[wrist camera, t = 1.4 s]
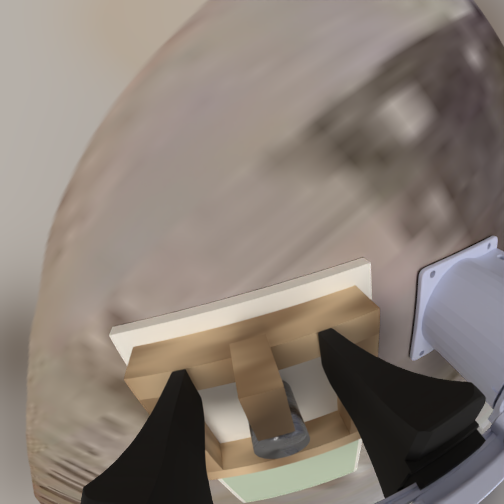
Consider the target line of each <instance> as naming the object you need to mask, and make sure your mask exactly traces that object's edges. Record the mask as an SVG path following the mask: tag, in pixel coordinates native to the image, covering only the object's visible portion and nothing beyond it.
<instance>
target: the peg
mask: <svg viewBox="0 0 504 504" xmlns="http://www.w3.org/2000/svg"><path fill="white" fill-rule="evenodd" d="M282 382H283V385H284V388H285V392H286V396H287V400H288V404H289V408H290V412H291V416H292V420H293V424H294V427H295V431H294V432H290V433H287V434H284V435H280V436H276V437H273V438H269V439H265V440H261V441H258V440H257V437H256V435H255V433H254V431H253V429H252V427H251V425H250V423H249V421H248V425H249V430H250V435H251V440H252V444H253V449H254V453H255V454H256V455H257V456H258V457H261V458H265V459H278V458H284V457H288V456H291V455H293V454H295V453H297V452H299V451H301V450H302V449H304V448H305V447H306V446H307V445H308V444H309V442H310V436H309V434H308V431H307V428H306V426H305V423H304V421H303V418H302V415H301V413H300V410H299V408H298V405H297V402H296V400H295V397H294V395H293V392H292V389H291V387H290V385H289V384H288V383H287V382H286V381H284V380H282ZM247 420H248V419H247Z"/></svg>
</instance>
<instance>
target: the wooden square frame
mask: <svg viewBox="0 0 504 504" xmlns="http://www.w3.org/2000/svg"><path fill="white" fill-rule="evenodd" d="M379 326H380V308H379V307H378V306H377V305H376V304H375V303H374V302H373V301H372V300H371V299H369V298H368V297H367V296H366V295H365V294H364V293H363V292H362V291H361V290H360V289H359V288H358V287H357V286H356V285H355V286H352V287H349V288H346V289H343V290H340V291H337V292H334V293H331V294H328V295H325V296H322V297H319V298H316V299H313V300H310V301H307V302H304V303H301V304H298V305H294V306H291V307H288V308H285V309H281V310H278V311H275V312H271V313H268V314H264V315H261V316H257V317H254V318H250V319H247V320H243V321H240V322H236V323H232V324H229V325H225V326H221V327H217V328H213V329H209V330H205V331H201V332H197V333H193V334H189V335H185V336H181V337H176V338H172V339H168V340H163V341H159V342H154V343H149V344H145V345H140V346H135V347H133V349H132V352H131V356H130V359H129V362H128V366H127V369H126V373H125V377H124V381H125V382H126V383H127V385H128V386H129V388H130V389H131V390H132V392H133V393H134V395H135V396H136V397H137V399H138V400H139V401H140V403H141V404H142V405H143V407H144V408H145V409H146V411H147V412H148V413H149V414H151V413H152V411H153V409H154V407H155V405H156V403H157V401H158V399H159V397H160V395H161V393H162V391H163V389H164V387H165V385H166V383H167V381H168V379H169V377H170V375H171V373H172V372H173V371H178V370H183V369H186V371H187V373H188V375H189V377H190V378H191V380H192V382H193V384H194V386H195V387H196V389H197V391H198V390H202V389H207V388H212V387H216V386H221V385H225V384H229V383H234V382H235V383H236V389H237V394H238V399H239V402H240V404H241V406H242V408H243V410H244V412H245V415H246V417H247V419H248V421H249V423H250V425H251V427H252V429H253V431H254V433H255V435H256V437H257V440H258V441H261V440H265V439H269V438H273V437H276V436H280V435H284V434H287V433H290V432H294V431H295V427H294V424H293V420H292V416H291V412H290V408H289V404H288V400H287V396H286V392H285V388H284V385H283V382H282V379H281V377H280V374H279V371H278V370H281V369H284V368H288V367H291V366H294V365H297V364H300V363H303V362H306V361H309V360H312V359H315V358H318V357H321V354H320V346H319V338H318V332H321V331H324V330H326V329H329V328H332V329H334V330H336V331H337V332H338V333H340V334H341V335H343V336H344V337H345V338H347V339H348V340H350V341H351V342H353V343H354V344H356V345H357V346H359V347H361V348H362V349H364V350H366V351H367V352H369V353H371V354H373V355H374V356H376V357H378V346H379ZM337 406H338V410H337V411H334V412H332V413H329V414H326V415H324V416H321V417H318V418H315V419H312V420H309V421H306V422H304V423H305V426H306V428H307V431H308V434H309V436H310V442H309V444H308V445H307V446H306V447H305V448H304V449H302V450H301V451H299V452H297V453H295V454H293V455H291V456H288V457H284V458H278V459H265V458H261V457H258V456H257V455H256V454H255V453H254V449H253V444H252V440H251V437H249V438H245V439H240V440H235V441H230V442H225V443H219V441H218V440H217V439H216V437H215V436H214V434H213V433H212V431H211V430H210V428H209V427H208V425H207V424H206V422H205V458H206V469H207V475H208V479H209V480H215V479H222V478H228V477H234V476H240V475H245V474H250V473H255V472H260V471H264V470H269V469H273V468H277V467H280V466H284V465H288V464H291V463H295V462H298V461H302V460H305V459H308V458H311V457H314V456H317V455H320V454H323V453H326V452H328V451H331V450H334V449H337V448H339V447H342V446H344V445H347V444H349V443H352V442H354V441H356V440H359V439H361V437H360V435H359V432H358V430H357V428H356V426H355V424H354V422H353V421H352V419H351V417H350V416H349V414H348V412H347V411H346V409H345V407H344V406H343V404H342V403H341V401H340V399H339V398H338V396H337Z"/></svg>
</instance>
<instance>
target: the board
mask: <svg viewBox="0 0 504 504" xmlns="http://www.w3.org/2000/svg"><path fill="white" fill-rule="evenodd" d="M355 285H356V286H357V287H358V288H359V289H360V290H361V291H362V292H363V293H364V294H365V295H366V296H367V297H368V298H369V299H371V300H372V287H371V263H370V262H369V261H367V260H366V259H365V258H360V259H357V260H353V261H350V262H347V263H344V264H341V265H338V266H335V267H332V268H328V269H325V270H322V271H319V272H316V273H312V274H309V275H306V276H303V277H299V278H296V279H293V280H289V281H286V282H283V283H279V284H276V285H272V286H269V287H265V288H262V289H259V290H255V291H251V292H248V293H244V294H241V295H237V296H234V297H230V298H226V299H223V300H219V301H215V302H212V303H208V304H204V305H200V306H196V307H193V308H189V309H185V310H181V311H177V312H173V313H169V314H165V315H161V316H157V317H153V318H149V319H144V320H140V321H136V322H132V323H127V324H123V325H119V326H114V327H112V330H111V332H110V334H109V336H110V338H111V340H112V342H113V343H114V345H115V347H116V348H117V350H118V352H119V353H120V355H121V357H122V358H123V360H124V362H125V363H126V365H127V366H128V362H129V359H130V356H131V352H132V349H133V347H135V346H140V345H145V344H149V343H154V342H159V341H163V340H168V339H172V338H176V337H181V336H185V335H189V334H193V333H197V332H201V331H205V330H209V329H213V328H217V327H221V326H225V325H229V324H232V323H236V322H240V321H243V320H247V319H250V318H254V317H257V316H261V315H264V314H268V313H271V312H275V311H278V310H281V309H285V308H288V307H291V306H294V305H298V304H301V303H304V302H307V301H310V300H313V299H316V298H319V297H322V296H325V295H328V294H331V293H334V292H337V291H340V290H343V289H346V288H349V287H352V286H355ZM278 371H279V374H280V377H281V379H282V380H284V381H286V382H287V383H288V384H289V385H290V387H291V389H292V392H293V395H294V397H295V400H296V402H297V405H298V408H299V410H300V413H301V415H302V418H303V421H304V422H306V421H309V420H312V419H315V418H318V417H321V416H324V415H326V414H329V413H332V412H334V411H337V410H338V406H337V395H336V393H335V391H334V390H333V388H332V386H331V385H330V383H329V381H328V378H327V376H326V374H325V372H324V369H323V367H322V363H321V357H318V358H315V359H312V360H309V361H306V362H303V363H300V364H297V365H294V366H291V367H288V368H284V369H281V370H278ZM198 393H199V395H200V396H201V398H202V404H203V410H204V418H205V422H206V424H207V425H208V427H209V428H210V430H211V431H212V433H213V434H214V436H215V437H216V439H217V440H218V441H219V443H225V442H230V441H235V440H240V439H245V438H249V437H251V435H250V430H249V425H248V420H247V417H246V415H245V412H244V410H243V408H242V406H241V404H240V402H239V399H238V394H237V389H236V383H235V382H234V383H229V384H225V385H221V386H216V387H212V388H207V389H202V390H198ZM361 444H362V439H359V441H358V448H357V454H356V461H355V467H354V471H356V470H357V466H358V461H359V455H360V450H361ZM218 480H219V481H220V482H221V483H222V484H223V485H224V486H225V487H226V488H227V489H229V490H230V491H231V492H232V493H233V494H234V495H235V496H236V497H237V498H238V499H240V500H241V501H242V502H243V503H245V501H244V500H243V499H242V498H241V497H240V496H239V495H238V494H237V493H236V492H235V491H234V490H233V489H232V488H231V487H230V486H229V485H228V484H227V483H225V482H224V480H223V479H218Z"/></svg>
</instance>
